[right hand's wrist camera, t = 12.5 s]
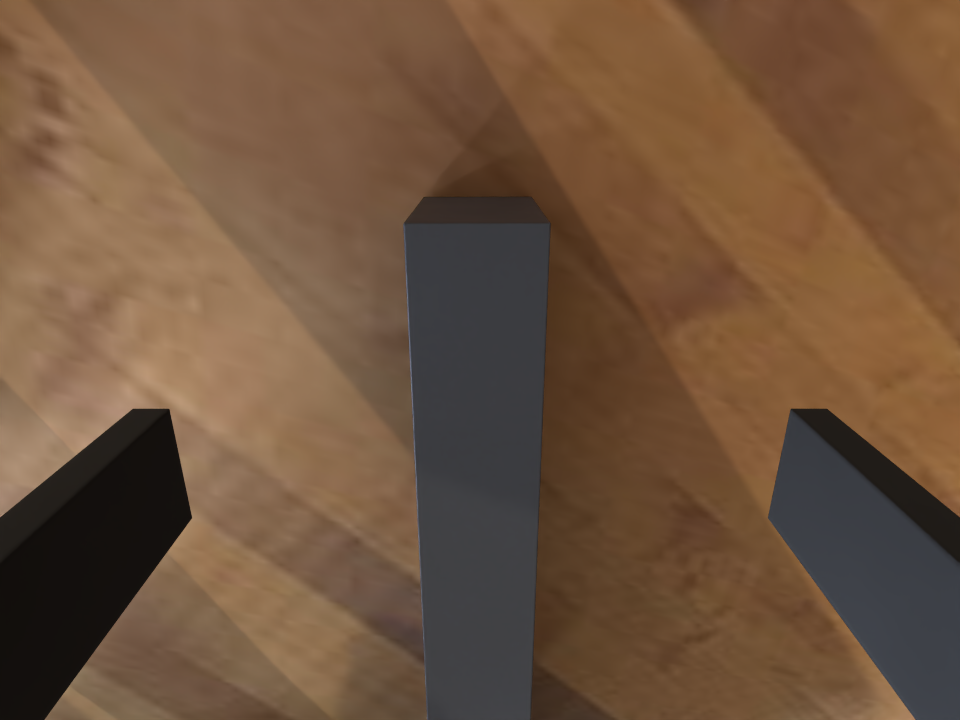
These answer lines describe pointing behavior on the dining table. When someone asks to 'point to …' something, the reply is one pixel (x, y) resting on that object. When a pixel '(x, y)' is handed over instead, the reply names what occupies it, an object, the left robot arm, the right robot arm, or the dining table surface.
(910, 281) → the dining table surface
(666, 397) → the dining table surface
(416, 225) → the bar
